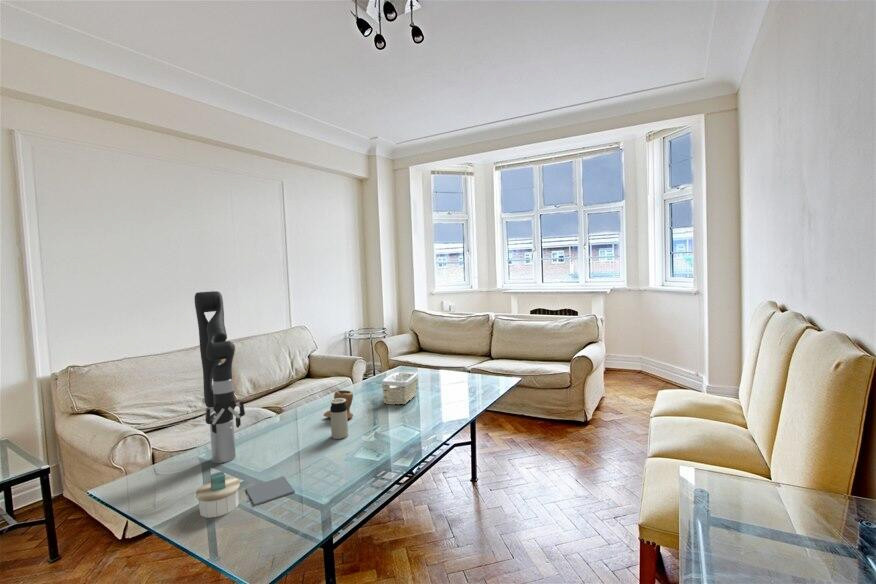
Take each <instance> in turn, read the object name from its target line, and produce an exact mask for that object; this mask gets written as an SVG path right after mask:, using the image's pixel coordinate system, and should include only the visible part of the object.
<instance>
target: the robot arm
mask: <svg viewBox="0 0 876 584" xmlns="http://www.w3.org/2000/svg"><path fill="white" fill-rule="evenodd" d="M223 300H224V299H223V295H222V294H221V292H220V291H217V290H216V291H215V290H214V291H212V290H211V291H199V292H195V294H194V308H195V314H196V319H197V321H196V322H197V326H198V337H199V351H200V358H201V367H202V376H203V377H202V378H203V380H202V381H203V399H204V406H206V408H205V423H206V424H207V425H209V430H210V432H209V433H210V444H211V459H212V460H211V461H212V462H213V463H214V464H222V463H221V462H224V463H227V462H230V461H233V460H234V459H235V458H236V440H235V438H236V437H235V427H236V428H240V427H241V418H242V417H244V416H245V414H246V413H245V412H246V411H245V404H244V402H243V401H242V400H239V401H237V402H236V401H235V400H236V399H235V386H234V379H233V371H232V370H233V368H232V367H233V359H234V357H235V352H236V347H235V344H234V343H233V341H232V340H231V341H230V340H227V339H228V335H227V331H226V329H227V328H226V326H225V310H224V309H225V308H224V301H223ZM212 312H214V314H213V315H212V317H211V318H210V319H209V320H208V319H207V317H206V313H212ZM224 359H225V360H224ZM222 360H224V362H222ZM221 362H222V363H221ZM236 407H238V409H239V413H238V412H237V411H235V409H236ZM213 412H214V413H213ZM234 417H235V425H234Z"/></svg>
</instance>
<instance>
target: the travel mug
mask: <svg viewBox="0 0 876 584" xmlns="http://www.w3.org/2000/svg"><path fill="white" fill-rule="evenodd" d="M345 402H346V399H344V398H336V399H334V398H333V399H331V400H330V402H329V403H331V404H330V405H331V406H330V407H329V408H330V409H329V411H330V414H331V418H330V432H331V438H332V439H335V440H342V438H343V439H345V438H347V437H348V436H349V428H348V427H349V426H348V422H349V421H348V420H349V419H347V405H346V404H345Z"/></svg>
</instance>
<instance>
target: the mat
mask: <svg viewBox="0 0 876 584" xmlns="http://www.w3.org/2000/svg"><path fill="white" fill-rule="evenodd" d="M245 490H246V492H247V495H248V496H249V498H250V500H251V501H252V504H253V506H254V507H255V506H258V505H260V504H265V503H268V502H271V501H272V500H276V499H279V498H282V497H283V498H284V497H285V496H288V494H289V495H290V493H292V494H294V493H295V492H296V490H295V489H294V488H293V486H292V485H291V484H290V483H289V481H288V480H287V479H286V477H285V476H280V477H277V478H275V479H271V480H268V481H264V482H262V483H258V484H255V485H252V486H251V485H250V486H247V487H245ZM293 492H294V493H293Z"/></svg>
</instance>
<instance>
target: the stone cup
mask: <svg viewBox="0 0 876 584" xmlns="http://www.w3.org/2000/svg"><path fill="white" fill-rule="evenodd" d="M336 398H344V399H346V402H345V404H346V405H347V419H348V420H349V419H352V418H353V417H354V414H353V413H352V412H351V410H350V409H351V405H352V403H353V399H354V394H353V392H352V391H351V390H345V389H343V390H342V389H337V390H336V391H335V392H334V396H333V399H336ZM323 416H324V417H326V418H328V419H329V418H330V419H331V414H330V410H328V411H326V412H324V413H323Z"/></svg>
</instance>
